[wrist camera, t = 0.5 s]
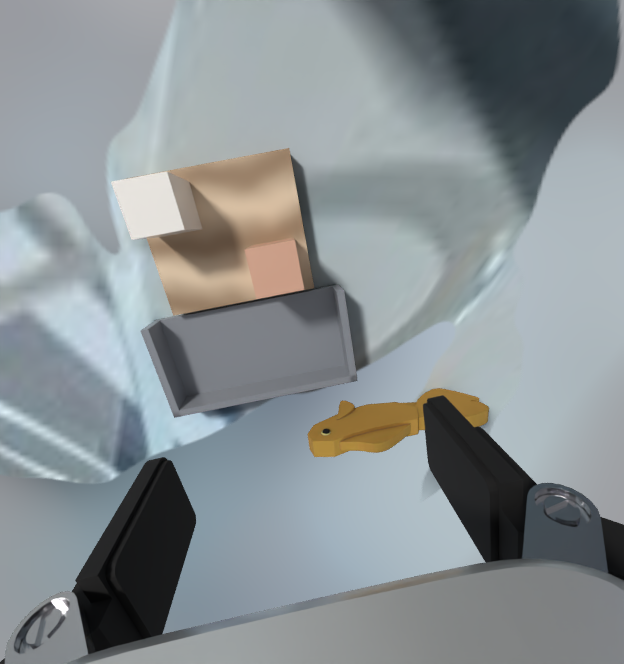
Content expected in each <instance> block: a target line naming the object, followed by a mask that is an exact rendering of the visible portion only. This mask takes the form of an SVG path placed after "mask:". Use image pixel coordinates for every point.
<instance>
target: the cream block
mask: <svg viewBox="0 0 624 664" xmlns="http://www.w3.org/2000/svg"><path fill="white" fill-rule="evenodd" d="M111 183H112V186H113V189H114V192H115V194H116V197H117V200H118V203H119V205H120V208H121V211H122V214H123V216H124V219H125V222H126V225H127V228H128V230H129V233H130V236H131V239H132V240H135V239H147V238H159V237H164V236H169V235H175V234H180V233H185V232H190V231H196V230H201V229H202V225H201V222H200V218H199V215H198V211H197V208H196V204H195V201H194V197H193V194H192V190H191V187H190V183H189V181H187V180H185V179H182V178H180V177H178V176H176V175H174V174H172V173H169V172H167V171H166V172H161V173H155V174H150V175H145V176H139V177H134V178H129V179H123V180H118V181H112V182H111Z"/></svg>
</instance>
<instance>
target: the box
mask: <svg viewBox="0 0 624 664" xmlns="http://www.w3.org/2000/svg"><path fill="white" fill-rule="evenodd" d="M141 333H142V336H143V338H144V341H145V343H146V346H147V349H148V351H149V354H150V356H151V359H152V361H153V364H154V367H155V369H156V372H157V374H158V377H159V379H160V382H161V385H162V387H163V390H164V392H165V395H166V397H167V400H168V403H169V405H170V408H171V410H172V413H173V415H174V418H175V417H180V416H185V415H190V414H195V413H200V412H205V411H210V410H215V409H220V408H225V407H229V406H234V405H239V404H244V403H249V402H254V401H259V400H264V399H269V398H274V397H279V396H284V395H289V394H294V393H299V392H304V391H309V390H314V389H319V388H324V387H329V386H334V385H339V384H344V383H349V382H354V381H357V374H356V367H355V360H354V354H353V347H352V340H351V333H350V327H349V320H348V313H347V306H346V299H345V293H344V290H343V289H342V288H341V287H340V286H339V285H338V284H337V285H332V286H327V287H322V288H316V289H311V290H306V291H301V292H296V293H291V294H286V295H281V296H275V297H270V298H265V299H260V300H255V301H250V302H245V303H240V304H235V305H229V306H224V307H219V308H214V309H209V310H204V311H199V312H194V313H189V314H183V315H178V316H173V317H168V318H163V319H158V320H155V321H153V322H152V323H151V324H149V325H148V326H146V327H145V328H144V329H142V330H141Z"/></svg>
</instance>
